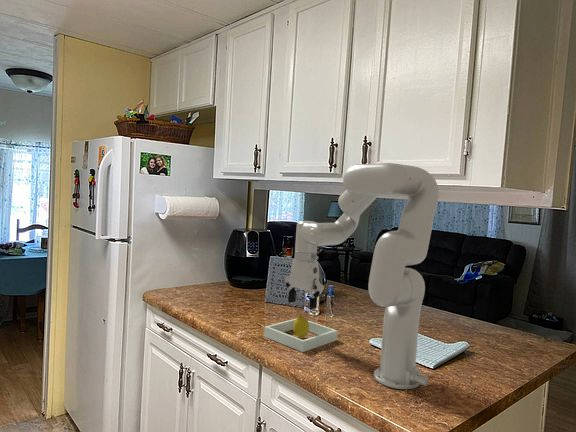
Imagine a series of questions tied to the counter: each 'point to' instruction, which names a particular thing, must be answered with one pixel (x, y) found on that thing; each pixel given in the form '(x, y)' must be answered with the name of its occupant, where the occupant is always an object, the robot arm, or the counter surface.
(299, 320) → the lemon
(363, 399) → the counter surface
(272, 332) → the pale green square frame
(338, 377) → the counter surface
